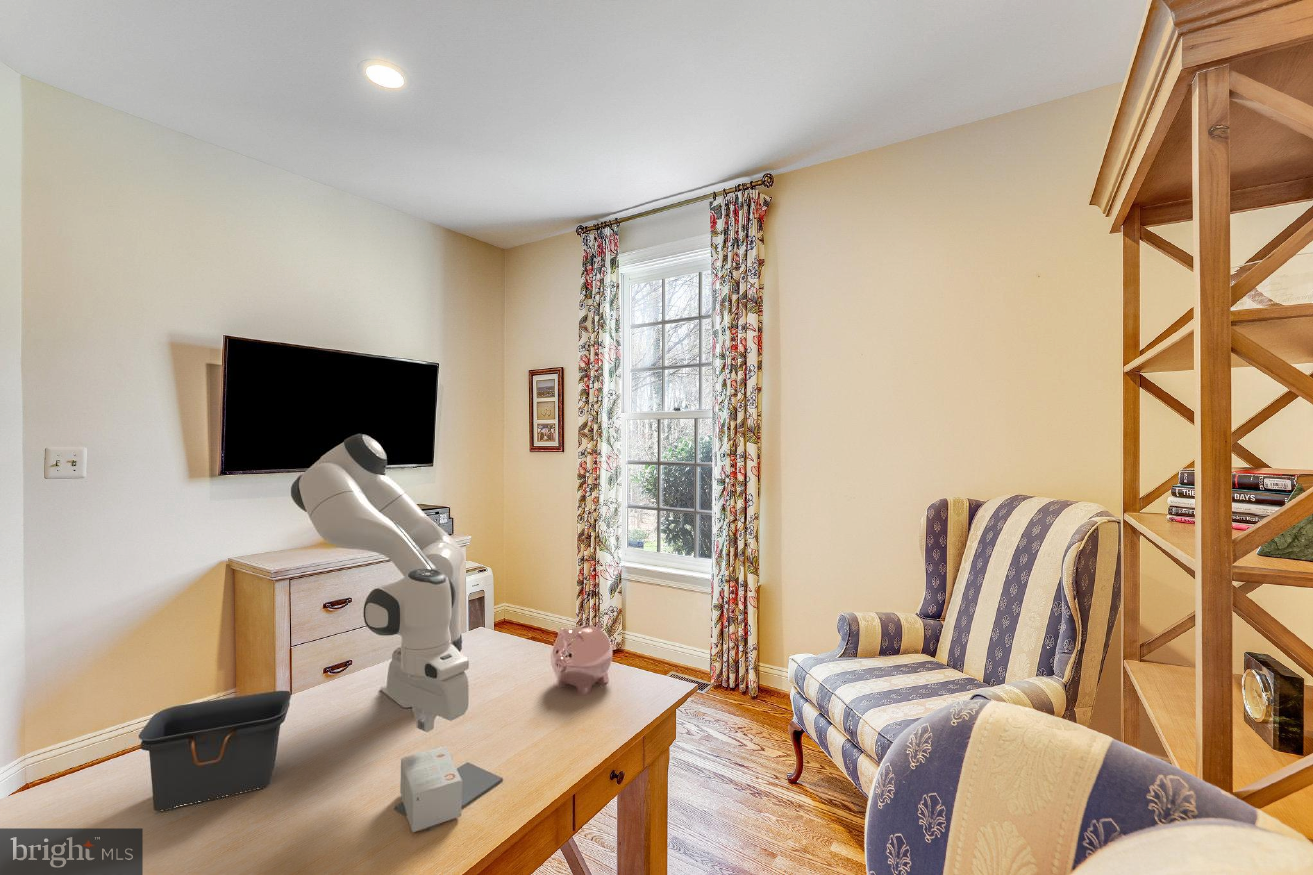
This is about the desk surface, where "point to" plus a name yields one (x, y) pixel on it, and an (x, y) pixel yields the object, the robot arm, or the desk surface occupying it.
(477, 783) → the mat
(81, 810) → the desk surface
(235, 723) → the storage bin
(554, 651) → the piggy bank
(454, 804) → the small box
